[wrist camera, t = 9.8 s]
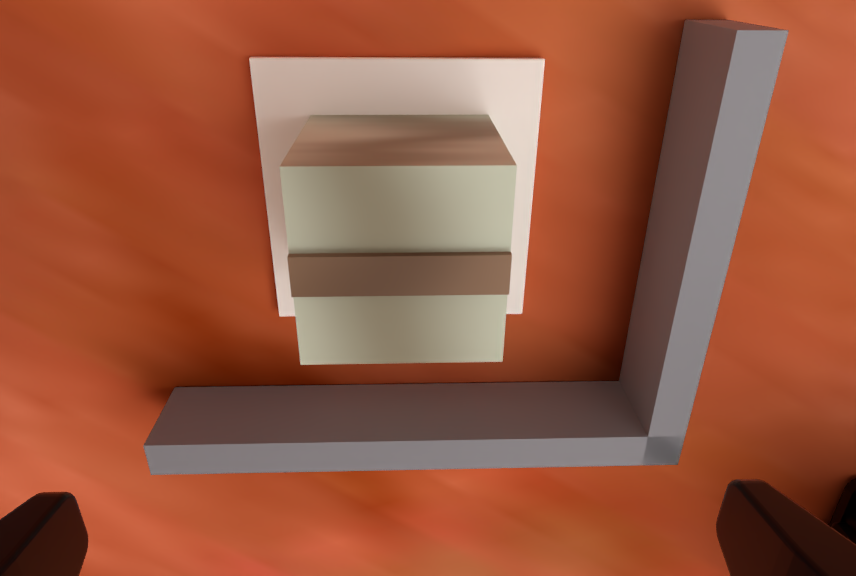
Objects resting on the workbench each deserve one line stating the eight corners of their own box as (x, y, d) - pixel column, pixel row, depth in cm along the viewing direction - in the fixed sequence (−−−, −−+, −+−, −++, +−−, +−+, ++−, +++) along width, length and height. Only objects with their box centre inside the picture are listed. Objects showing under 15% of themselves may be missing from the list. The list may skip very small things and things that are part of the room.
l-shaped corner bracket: (728, 20, 17) (788, 30, 14) (646, 406, 23) (677, 464, 20) (93, 15, 16) (33, 26, 14) (180, 414, 23) (150, 474, 20)
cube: (488, 114, 18) (518, 168, 13) (480, 272, 20) (503, 366, 15) (310, 114, 18) (277, 169, 13) (323, 275, 20) (299, 369, 15)
